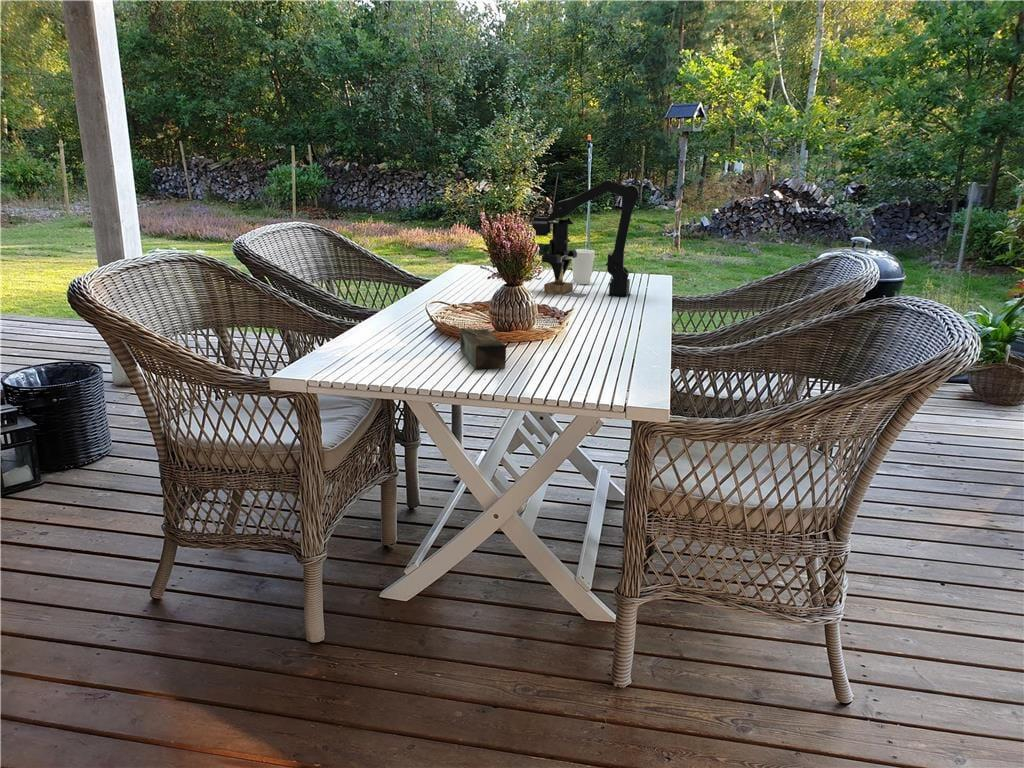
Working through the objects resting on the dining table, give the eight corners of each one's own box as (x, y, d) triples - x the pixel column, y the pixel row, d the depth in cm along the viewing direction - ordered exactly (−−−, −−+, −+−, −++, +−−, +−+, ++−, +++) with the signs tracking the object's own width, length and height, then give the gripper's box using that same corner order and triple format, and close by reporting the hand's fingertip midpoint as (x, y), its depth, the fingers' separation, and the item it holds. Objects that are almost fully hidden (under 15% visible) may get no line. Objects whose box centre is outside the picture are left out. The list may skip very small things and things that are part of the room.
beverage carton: (488, 349, 202) (488, 325, 200) (507, 369, 184) (507, 343, 182) (459, 351, 200) (459, 327, 198) (475, 371, 182) (475, 345, 180)
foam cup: (565, 282, 301) (566, 250, 297) (585, 281, 305) (586, 248, 301) (577, 286, 293) (578, 253, 289) (597, 285, 297) (599, 252, 293)
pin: (563, 288, 280) (564, 261, 277) (560, 289, 277) (561, 262, 274) (556, 287, 281) (557, 260, 278) (553, 288, 278) (554, 261, 275)
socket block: (572, 292, 281) (572, 283, 280) (563, 295, 274) (564, 286, 273) (553, 290, 285) (553, 281, 284) (544, 293, 278) (544, 284, 277)
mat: (589, 295, 276) (589, 294, 276) (581, 298, 270) (581, 297, 270) (571, 293, 279) (571, 292, 279) (563, 296, 273) (563, 295, 273)
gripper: (551, 232, 285) (550, 273, 289) (528, 237, 269) (528, 280, 274) (578, 234, 280) (576, 276, 284) (557, 239, 264) (555, 283, 269)
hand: (558, 279), depth 278 cm, fingers closed on pin, 3 cm apart
